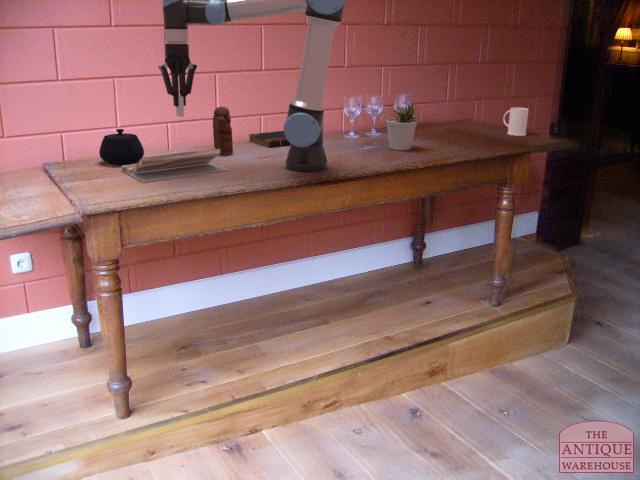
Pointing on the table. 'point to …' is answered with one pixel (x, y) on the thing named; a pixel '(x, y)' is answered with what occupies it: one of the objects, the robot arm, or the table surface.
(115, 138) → the teapot
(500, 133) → the table surface
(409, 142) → the potted plant
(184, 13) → the robot arm
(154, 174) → the tray
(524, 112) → the mug
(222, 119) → the wooden figurine
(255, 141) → the book
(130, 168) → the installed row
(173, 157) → the plank
